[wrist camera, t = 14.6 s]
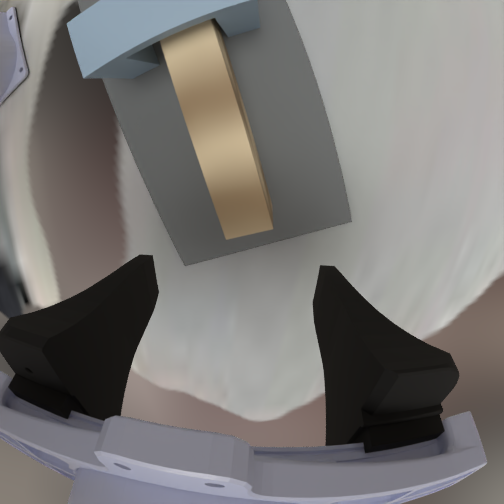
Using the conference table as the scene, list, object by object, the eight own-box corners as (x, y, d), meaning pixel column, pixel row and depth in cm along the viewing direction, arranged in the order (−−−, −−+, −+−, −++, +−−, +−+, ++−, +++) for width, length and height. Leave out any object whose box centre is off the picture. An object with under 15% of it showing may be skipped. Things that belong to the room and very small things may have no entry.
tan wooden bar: (165, 3, 14) (143, -13, 10) (206, -12, 13) (192, -33, 10) (232, 214, 22) (225, 240, 18) (272, 205, 21) (273, 230, 18)
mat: (62, -81, 6) (60, -82, 6) (196, -143, 3) (195, -145, 3) (186, 263, 25) (184, 266, 24) (350, 219, 22) (351, 221, 21)
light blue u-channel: (117, 35, 15) (66, 23, 9) (240, -18, 13) (230, -58, 7) (133, 78, 17) (83, 78, 11) (260, 27, 15) (257, -2, 9)
